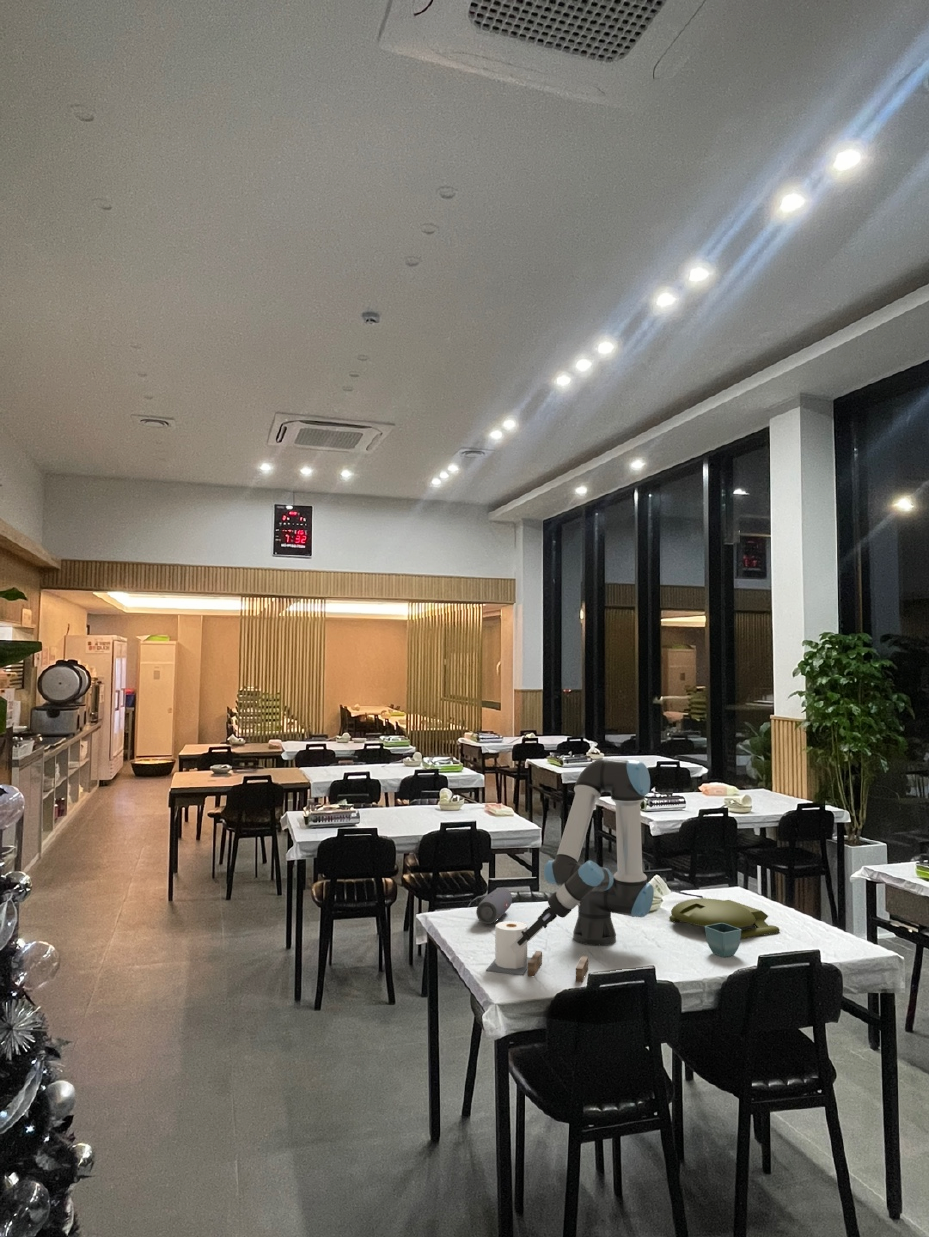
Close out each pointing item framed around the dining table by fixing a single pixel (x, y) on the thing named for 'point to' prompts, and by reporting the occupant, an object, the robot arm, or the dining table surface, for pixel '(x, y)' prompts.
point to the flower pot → (723, 939)
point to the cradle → (537, 962)
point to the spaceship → (722, 915)
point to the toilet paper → (504, 939)
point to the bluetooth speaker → (494, 905)
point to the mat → (518, 971)
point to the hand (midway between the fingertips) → (519, 943)
